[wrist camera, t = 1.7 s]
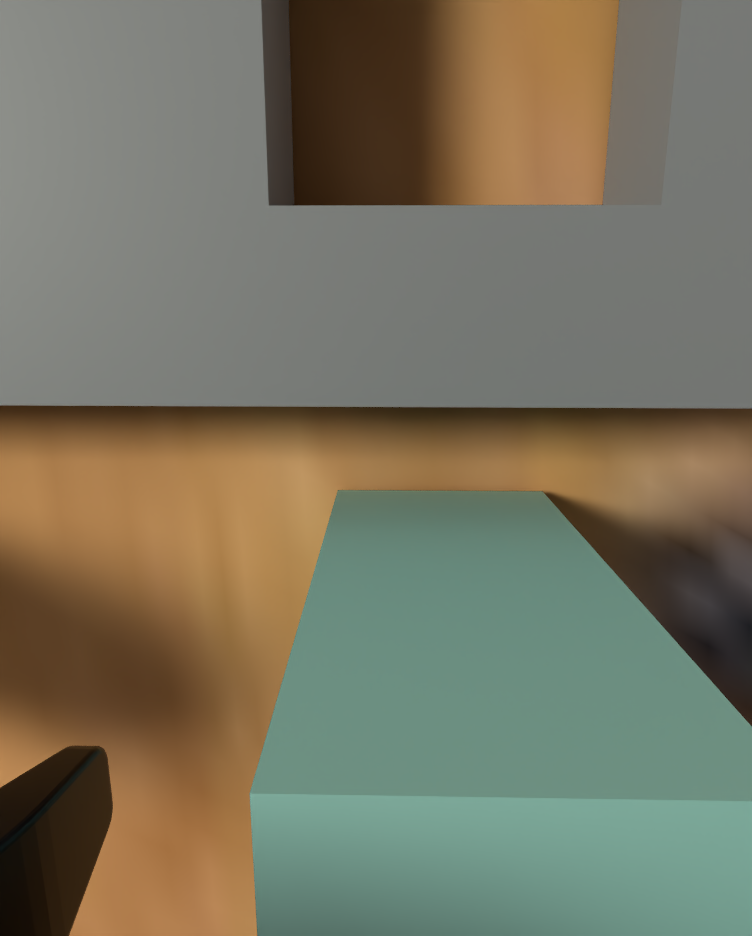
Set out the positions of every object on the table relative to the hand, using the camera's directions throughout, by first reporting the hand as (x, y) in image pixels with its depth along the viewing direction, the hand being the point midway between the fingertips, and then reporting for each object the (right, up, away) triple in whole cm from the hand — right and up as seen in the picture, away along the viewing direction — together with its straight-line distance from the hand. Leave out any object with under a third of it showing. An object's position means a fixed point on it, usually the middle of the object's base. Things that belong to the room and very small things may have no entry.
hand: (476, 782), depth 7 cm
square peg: (0, +1, +5) cm, 5 cm away
